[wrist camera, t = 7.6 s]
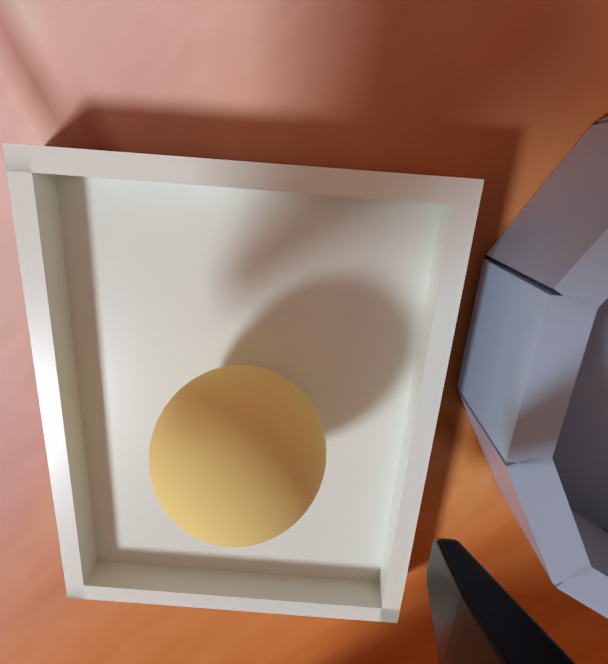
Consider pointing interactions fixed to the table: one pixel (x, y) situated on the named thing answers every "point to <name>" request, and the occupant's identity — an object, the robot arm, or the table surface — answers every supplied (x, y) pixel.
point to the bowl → (550, 370)
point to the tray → (238, 358)
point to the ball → (237, 456)
